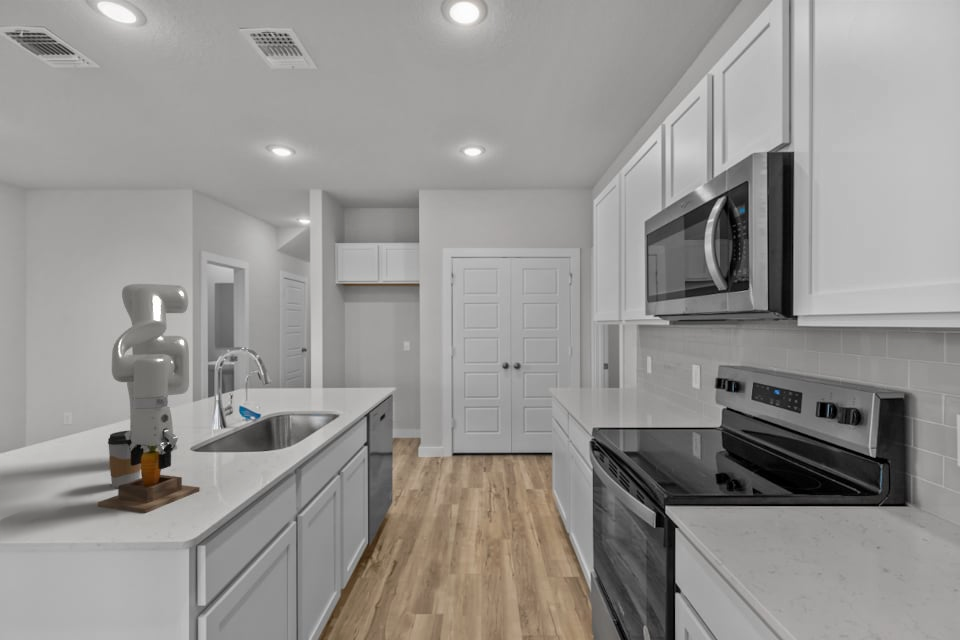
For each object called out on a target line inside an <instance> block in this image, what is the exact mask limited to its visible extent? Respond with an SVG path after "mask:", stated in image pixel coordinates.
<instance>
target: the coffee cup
mask: <svg viewBox="0 0 960 640" xmlns="http://www.w3.org/2000/svg"><path fill="white" fill-rule="evenodd" d="M128 431H129V430H123V431H118V432H112V433H110V434H109V438H108V439H107V445H108V454H109V458H108V459H109V471H110V477H111V486H112V487H113V488H114V489H118V486H119V485H122V484H125V483H128V482H131V481H134V480H137V479H140V475H141V474H140V473H141V463H140V464H137V465H134V466H132V465H131V451H130V450H129V445H128V444H127V440H126V437H125V433H126V432H128ZM141 448H142V447H141Z"/></svg>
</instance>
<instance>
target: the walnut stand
mask: <svg viewBox="0 0 960 640" xmlns="http://www.w3.org/2000/svg"><path fill="white" fill-rule="evenodd" d="M117 490H118V491H117V495H114V496H112V497H109V498H106V499H103V500H101V501H98V502H97V507H102V508H109V509H114V510H115V509H116V510H120V511H121V510H122V511H129V512H135V513H143V514H147V513H149V512H151V511H154V510H156V509H159V508H161V507H163V506H166V505H168V504H171V503H173V502H176V501H178V500H181V499H183V498H185V497H188V496H191V495H193V494H195V493H199V492H200V490H201V489H200V486H193V485H184V484H183V477H182V476H174V475H167V474H166V475H165V474H160V477H159V480H158V483H157V484H156V485H153V486H150V487H144V485H143V480H142V477H141V478H140V477H139V479H137V480H134V481H131V482H128V483H125V484H122V485H119V486H118V488H117Z"/></svg>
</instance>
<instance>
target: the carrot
mask: <svg viewBox="0 0 960 640" xmlns="http://www.w3.org/2000/svg"><path fill="white" fill-rule="evenodd" d="M162 442H163V441H162ZM147 447H148V449H149V452H145V453H144V454H143V455H142V457H141V467H140V473H141V474H140V475H141V478H142V480H143V485H144V487H150V486H153V485H156V484H157V483H158V480H159V477H160V475H161V471H162V469H159V468H158V456H159V454H161V453H160V451H155V450H156V448H157V446H156V447H153V446H147Z"/></svg>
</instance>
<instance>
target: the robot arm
mask: <svg viewBox="0 0 960 640" xmlns="http://www.w3.org/2000/svg"><path fill="white" fill-rule="evenodd" d="M121 298H122V302H123V306H124V308H125V310H126V312H127V314H128V316H129V319H130V321H131V327H129V328H127V329H126V330H125V331H124V332H123V333H122V334H121V335H120V336H119V337H118V338H117V339H116V341H115V343H114V344H113V348H112V354H111V375H112V377H113V379H114V380H115V381H117V382H120V383H126V387H127V392H128V398H129V409H130V410H129V413H130V415H129V418H130V420H129V421H130V423H129V425H130V426H129V429H130V430H127V431H128V432H126V433H125V437H126V440H127V444H128V445H129V450H130V451H131V465H132V466H134V465H137V464H140V463H141V457H142V455H143V454H144V453H145V452H149V449H148V447H147V446H153V447H156V446H157V448H156V450H155V451H160V453H161V454H159V456H158V468H159V469H161V470H164V469H166V468H170V467H171V466H172V452H173V451H176V450H177V449H178V445H177V441H178V439H179V437H178V436H177V435H176V434H174V429H173V428H174V427H173V419H172V412H171V409H170V406H168V405H169V404H168V403H169V401H168V400H169V399H168V396H174V395H175V396H176V395H177V396H178V395H183V394H185V393H187V392H188V390H189V388H190V349H189V343H188V341H187V339H186V338H185V337H184V336H180V335H164V334H165V332H166V330H167V314H185V312H187V310H188V307H189V297H188V293H187V291H186V289H185V288H184V287H183V286H182V285H177V284H154V283H153V284H152V283H133V284H128V285H126V286H124V287H123V288H122V290H121ZM130 349H131V350H132V354H125V353H126V352H127V351H128V350H130ZM162 441H163V442H162ZM141 447H142V448H141Z"/></svg>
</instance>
